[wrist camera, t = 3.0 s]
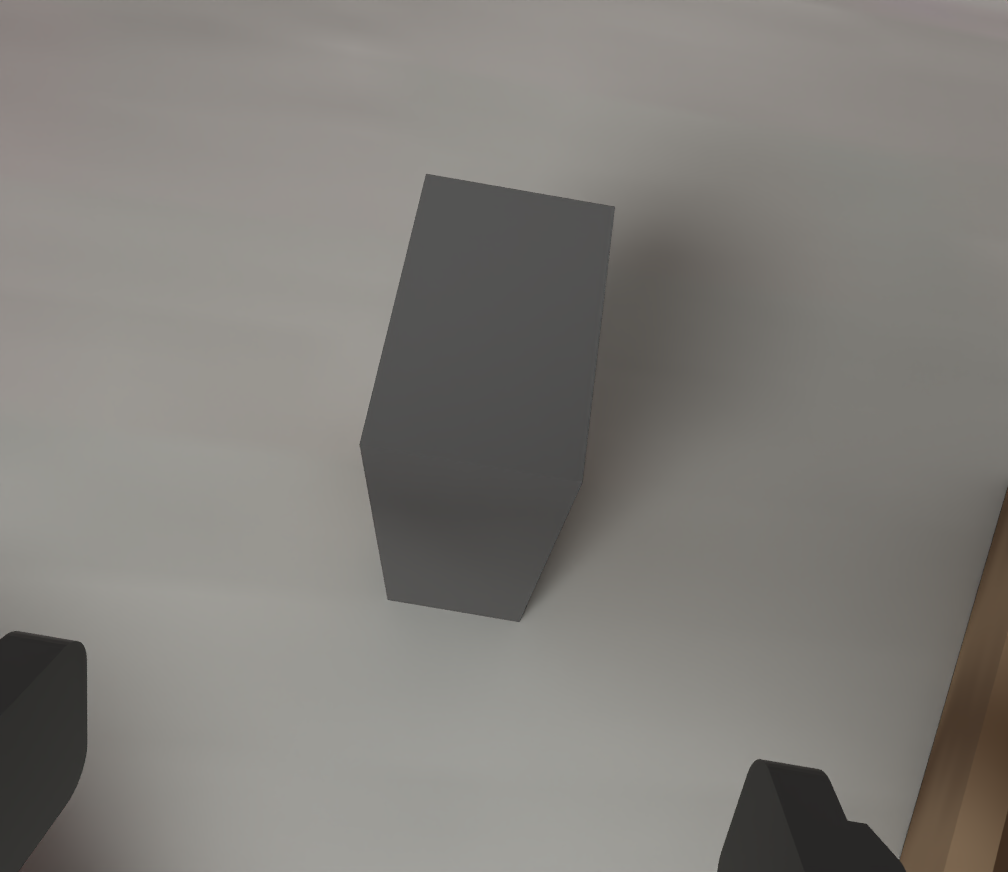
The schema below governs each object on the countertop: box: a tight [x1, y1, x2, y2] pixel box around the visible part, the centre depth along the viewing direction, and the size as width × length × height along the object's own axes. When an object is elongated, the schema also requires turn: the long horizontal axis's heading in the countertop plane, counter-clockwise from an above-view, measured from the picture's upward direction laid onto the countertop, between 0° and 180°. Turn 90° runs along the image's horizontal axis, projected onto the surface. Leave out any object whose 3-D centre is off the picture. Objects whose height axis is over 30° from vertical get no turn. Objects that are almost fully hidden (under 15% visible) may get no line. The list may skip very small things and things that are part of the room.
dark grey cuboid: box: [360, 174, 615, 622], centre depth 19 cm, size 6×4×10 cm, turn 171°
